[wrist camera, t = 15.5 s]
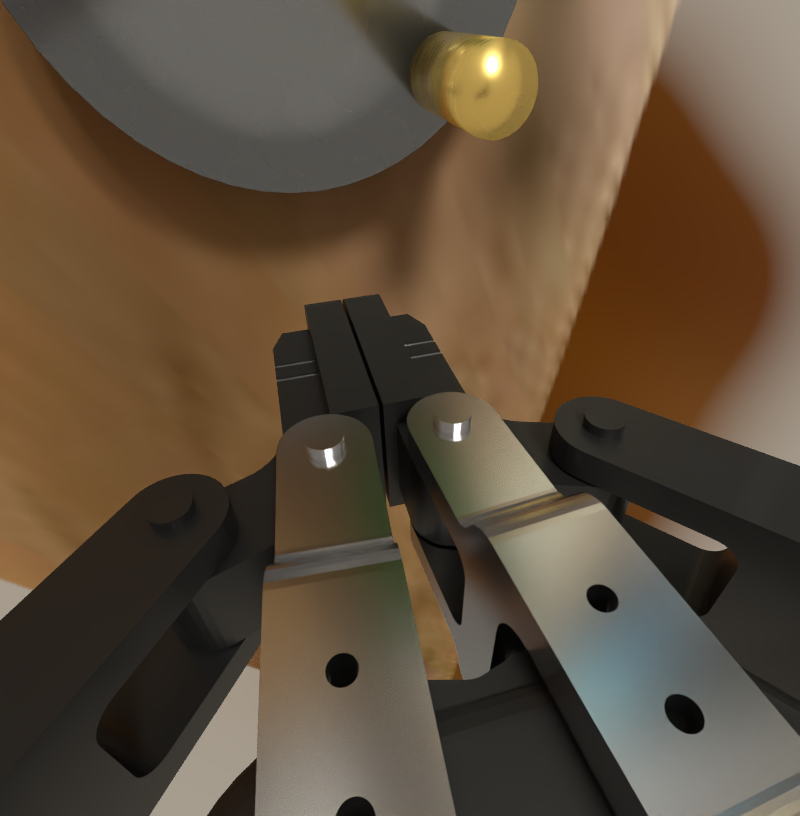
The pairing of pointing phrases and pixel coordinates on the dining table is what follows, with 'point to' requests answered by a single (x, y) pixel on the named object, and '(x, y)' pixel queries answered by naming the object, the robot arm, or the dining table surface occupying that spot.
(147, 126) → the turntable
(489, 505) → the robot arm
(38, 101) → the dining table surface
